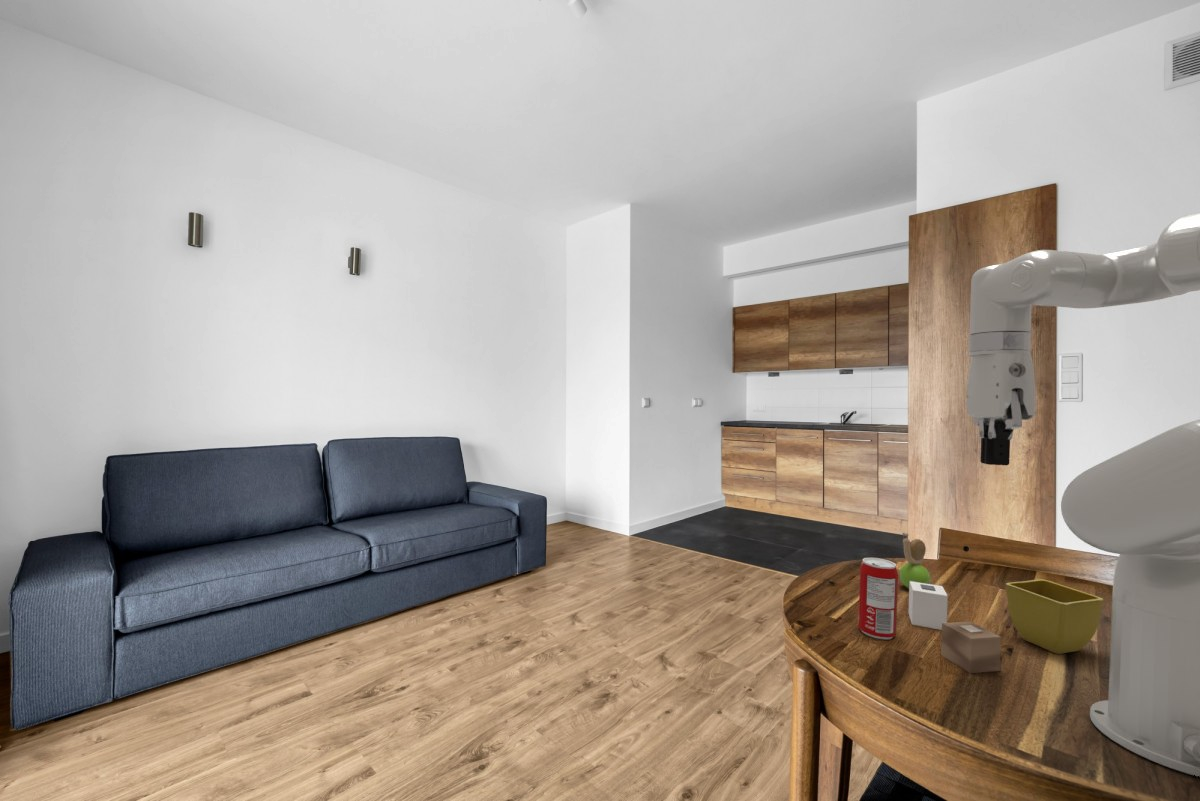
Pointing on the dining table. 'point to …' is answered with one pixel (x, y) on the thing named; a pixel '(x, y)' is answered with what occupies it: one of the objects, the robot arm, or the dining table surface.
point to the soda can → (878, 598)
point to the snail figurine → (914, 562)
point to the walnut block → (971, 647)
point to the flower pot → (1053, 614)
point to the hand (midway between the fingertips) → (994, 464)
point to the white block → (927, 605)
